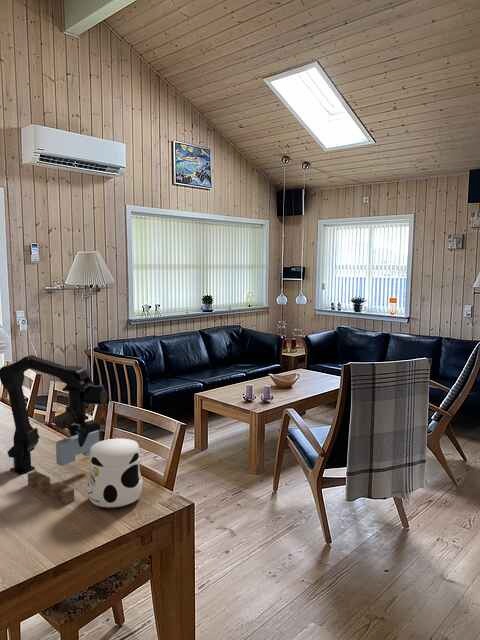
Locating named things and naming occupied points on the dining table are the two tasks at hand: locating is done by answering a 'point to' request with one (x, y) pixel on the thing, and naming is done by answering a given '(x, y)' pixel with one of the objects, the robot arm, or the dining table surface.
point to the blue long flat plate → (74, 448)
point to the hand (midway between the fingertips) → (78, 445)
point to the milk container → (114, 473)
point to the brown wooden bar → (51, 487)
